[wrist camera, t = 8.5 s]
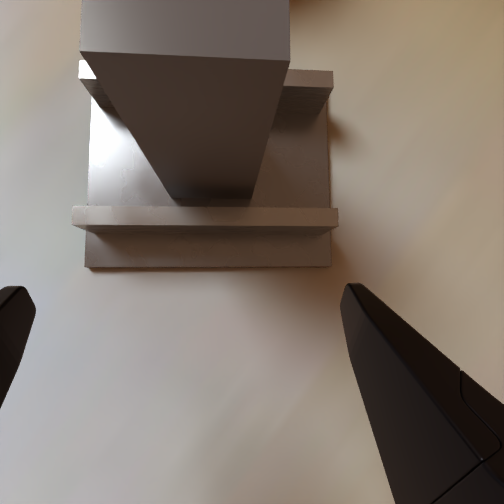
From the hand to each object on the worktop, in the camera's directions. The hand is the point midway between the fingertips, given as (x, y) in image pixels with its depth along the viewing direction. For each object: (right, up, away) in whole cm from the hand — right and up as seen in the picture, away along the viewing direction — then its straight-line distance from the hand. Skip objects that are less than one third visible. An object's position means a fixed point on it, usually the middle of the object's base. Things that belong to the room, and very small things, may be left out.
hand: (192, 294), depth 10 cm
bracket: (-1, +7, +12) cm, 14 cm away
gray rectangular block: (-1, +7, +12) cm, 13 cm away
